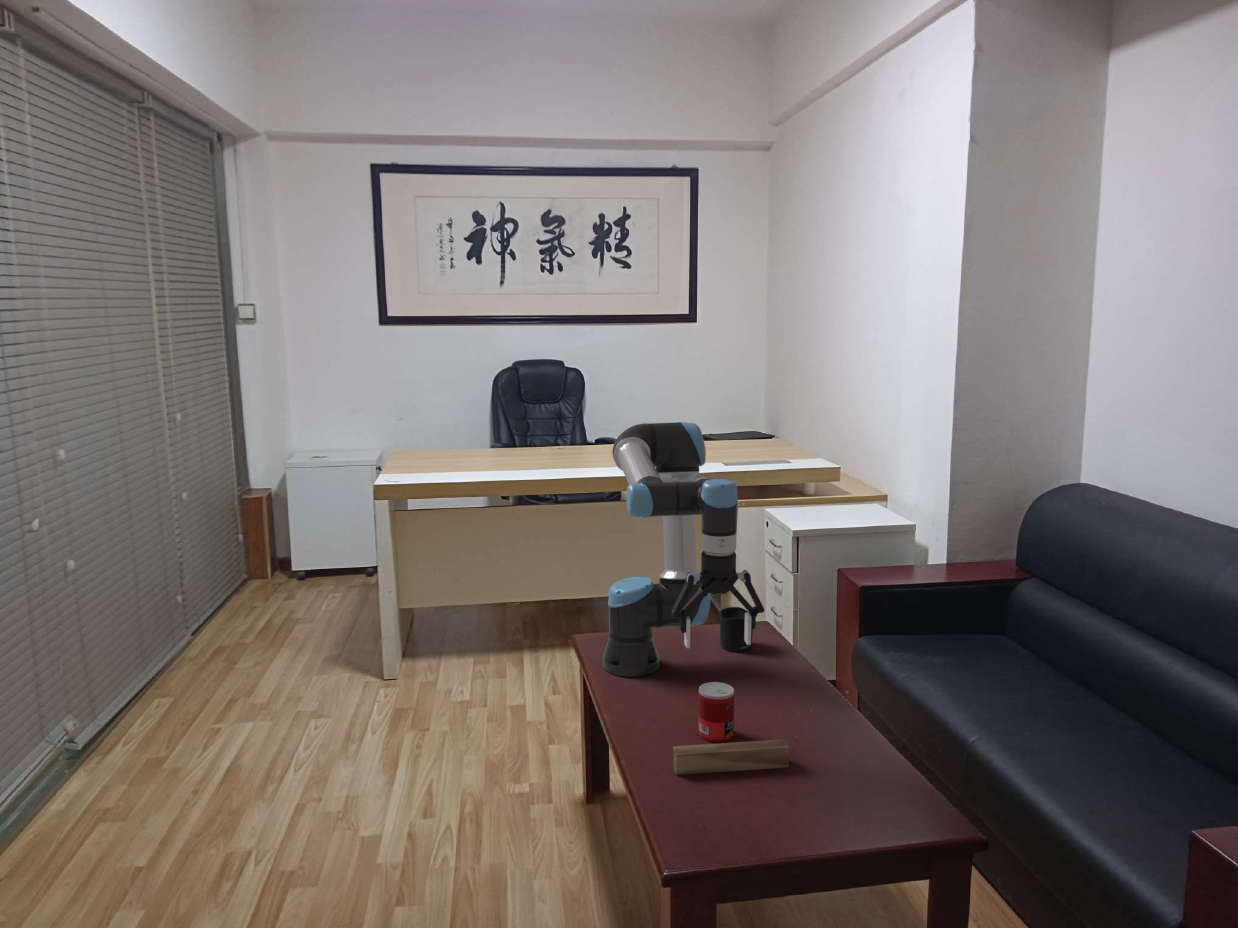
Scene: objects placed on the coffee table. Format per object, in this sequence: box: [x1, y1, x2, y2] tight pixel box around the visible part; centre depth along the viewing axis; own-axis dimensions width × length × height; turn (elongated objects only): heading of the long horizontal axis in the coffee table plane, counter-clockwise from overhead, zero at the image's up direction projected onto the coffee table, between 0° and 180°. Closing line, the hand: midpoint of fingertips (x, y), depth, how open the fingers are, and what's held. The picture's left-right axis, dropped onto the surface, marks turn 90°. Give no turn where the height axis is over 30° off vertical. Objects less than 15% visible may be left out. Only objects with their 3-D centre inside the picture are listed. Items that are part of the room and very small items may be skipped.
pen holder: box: [719, 606, 754, 653], centre depth 250 cm, size 9×9×10 cm
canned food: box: [697, 681, 735, 743], centre depth 200 cm, size 8×8×11 cm
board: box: [672, 738, 791, 776], centre depth 187 cm, size 4×24×4 cm, turn 97°
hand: (717, 644), depth 197 cm, fingers open, 13 cm apart
